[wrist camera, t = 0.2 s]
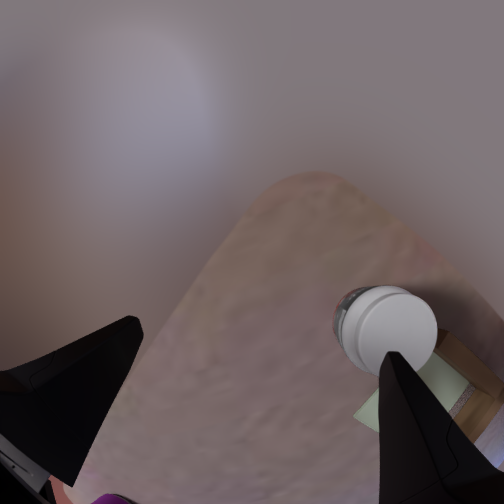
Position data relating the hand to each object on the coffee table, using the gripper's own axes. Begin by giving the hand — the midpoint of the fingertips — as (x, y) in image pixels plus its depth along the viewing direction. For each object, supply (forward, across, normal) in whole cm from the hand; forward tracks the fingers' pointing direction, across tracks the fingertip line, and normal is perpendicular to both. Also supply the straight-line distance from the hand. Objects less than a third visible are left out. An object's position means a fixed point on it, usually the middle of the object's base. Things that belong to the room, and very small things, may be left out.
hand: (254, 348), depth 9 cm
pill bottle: (+12, -7, +8) cm, 16 cm away
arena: (+8, -15, +15) cm, 23 cm away
